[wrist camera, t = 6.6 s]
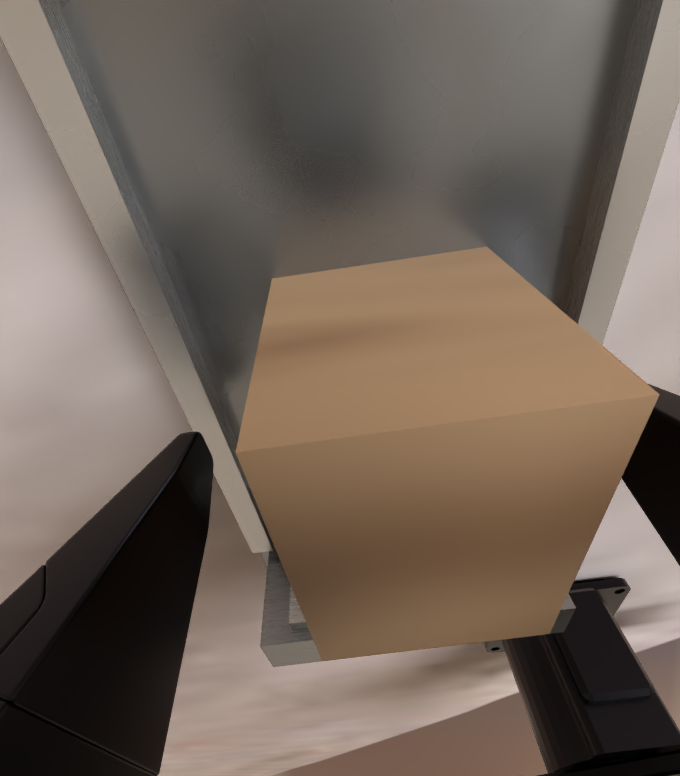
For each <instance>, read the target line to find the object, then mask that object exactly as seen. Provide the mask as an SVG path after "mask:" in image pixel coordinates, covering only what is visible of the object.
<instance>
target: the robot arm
mask: <svg viewBox="0 0 680 776" xmlns="http://www.w3.org/2000/svg"><path fill="white" fill-rule="evenodd" d="M648 385H649V386H650V387H651V388H653V389H654V390H655V391H656V392H657V393H658V394H660V395H659V397H658V399H657V402H656V404H655V406H654V408H653V410H652V412H651V415H650V417H649V419H648V421H647V423H646V425H645V428H644V430H643V432H642V434H641V436H640V438H639V441H638V443H637V445H636V447H635V449H634V451H633V454H632V456H631V458H630V460H629V462H628V465H627V467H626V469H625V471H624V473H623V475H622V479H623V481H624V482H625V484H626V486H627V487H628V489H629V490H630V492H631V493H632V495H633V496H634V498H635V499H636V501H637V502H638V504H639V505H640V507H641V508H642V510H643V511H644V513H645V514H646V516H647V517H648V519H649V520H650V522H651V523H652V525H653V526H654V528H655V529H656V531H657V532H658V534H659V535H660V537H661V538H662V540H663V541H664V543H665V544H666V546H667V547H668V549H669V550H670V552H671V553H672V555H673V556H674V558H675V559H676V561H677V562H678V564H679V565H680V396H679V395H676V394H673V393H671V392H668V391H666V390H663V389H660V388H658V387H655V386H652V385H650V384H648ZM213 468H214V462H213V457H212V455H211V453H210V450H209V448H208V446H207V444H206V442H205V440H204V438H203V436H202V434H201V433H200V432H197V431H195V432H188V433H182V434H180V435H179V436H177V437H176V438H175V439H174V440H173V441H172V442H171V443H170V444H169V445H168V446H167V447H166V448H165V449H164V450H163V451H162V452H161V453H160V454H158V455H157V456H156V457H155V458H154V459H153V460H152V461H151V462H150V463H149V464H148V465H147V466H146V467H145V468H144V469H143V470H142V471H141V472H140V473H139V474H138V475H136V476H135V477H134V478H133V479H132V480H131V481H130V482H129V483H128V484H127V485H126V486H125V487H124V488H123V489H122V490H121V491H120V492H119V493H118V494H117V495H116V496H114V497H113V498H112V499H111V500H110V501H109V502H108V503H107V504H106V505H105V506H104V507H103V508H102V509H101V510H100V511H99V512H98V513H97V514H96V515H95V516H94V517H92V518H91V519H90V520H89V521H88V522H87V523H86V524H85V525H84V526H83V527H82V528H81V529H80V530H79V531H78V532H77V533H76V534H75V535H74V536H73V537H71V538H70V539H69V540H68V541H67V542H66V543H65V544H64V545H63V546H62V547H61V548H60V549H59V550H58V551H57V552H56V553H55V554H54V555H53V556H52V557H50V558H49V559H48V560H47V562H46V565H42V566H41V567H40V568H39V569H38V570H37V571H36V572H35V573H34V574H33V575H32V576H30V577H29V578H28V579H27V580H26V581H25V582H24V583H23V584H22V585H21V586H20V587H19V588H18V589H17V590H16V591H14V592H13V593H12V594H11V595H10V596H9V597H8V598H7V599H6V600H5V601H4V602H3V603H1V604H0V776H157V775H158V774H159V772H160V767H161V762H162V757H163V752H164V747H165V742H166V737H167V732H168V727H169V722H170V717H171V712H172V707H173V702H174V697H175V693H176V688H177V683H178V678H179V673H180V668H181V663H182V658H183V653H184V648H185V643H186V638H187V633H188V628H189V623H190V618H191V613H192V608H193V603H194V598H195V593H196V588H197V583H198V578H199V573H200V568H201V563H202V558H203V553H204V548H205V543H206V538H207V533H208V526H209V517H210V505H211V493H212V480H213ZM630 589H631V588H630V587H629V585H628V584H627V582H626V581H625V579H623V578H616V579H608V580H600V581H592V582H584V583H576V584H572V586H571V588H570V591H569V595H570V597H571V599H572V601H573V603H574V605H575V607H576V609H575V611H574V613H573V615H572V617H571V619H570V621H569V623H568V625H567V627H566V629H565V631H564V632H560V633H551V634H545V635H536V636H528V637H520V638H511V639H503V640H495V641H486V642H484V643H485V647H486V650H487V651H488V652H501V651H505V652H506V655H507V658H508V661H509V664H510V666H511V669H512V672H513V675H514V678H515V681H516V684H517V686H518V689H519V692H520V695H521V698H522V701H523V704H524V706H525V709H526V712H527V715H528V717H529V721H530V723H531V726H532V729H533V732H534V735H535V738H536V740H537V743H538V746H539V749H540V752H541V755H542V758H543V761H544V763H545V766H546V769H547V772H548V774H544V775H538V776H680V730H679V729H678V727H677V725H676V723H675V722H674V720H673V718H672V716H671V715H670V713H669V712H668V710H667V708H666V706H665V704H664V703H663V701H662V699H661V698H660V696H659V694H658V692H657V691H656V689H655V687H654V686H653V684H652V682H651V680H650V679H649V677H648V675H647V674H646V672H645V670H644V668H643V667H642V665H641V663H640V661H639V660H638V658H637V656H636V655H635V653H634V651H633V649H632V648H631V646H630V644H629V643H628V641H627V639H626V637H625V636H624V634H623V632H622V630H621V629H620V627H619V625H618V624H617V622H616V620H615V618H614V617H613V616H614V614H615V613H616V611H617V610H618V608H619V606H620V605H621V603H622V602H623V600H624V599H625V597H626V596H627V594H628V593H629V591H630Z"/></svg>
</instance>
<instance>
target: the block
mask: <svg viewBox="0 0 680 776" xmlns="http://www.w3.org/2000/svg"><path fill="white" fill-rule="evenodd" d="M659 395H660V394H658V393H657V392H656V391H655V390H654V389H653V388H651V387H650V386H649V385H648V384H647V383H646V382H644V381H643V380H642V379H641V378H640V377H639V376H637V375H636V374H635V373H634V372H633V371H632V370H630V369H629V368H628V367H627V366H626V365H625V364H623V363H622V362H621V361H620V360H619V359H618V358H616V357H615V356H614V355H613V354H612V353H611V352H609V351H608V350H607V349H606V348H605V347H604V346H602V345H601V344H600V343H599V342H598V341H597V340H595V339H594V338H593V337H592V336H591V335H590V334H588V333H587V332H586V331H585V330H584V329H583V328H581V327H580V326H579V325H578V324H577V323H576V322H574V321H573V320H572V319H571V318H570V317H569V316H567V315H566V314H565V313H564V312H563V311H562V310H560V309H559V308H558V307H557V306H556V305H555V304H553V303H552V302H551V301H550V300H549V299H548V298H546V297H545V296H544V295H543V294H542V293H541V292H539V291H538V290H537V289H536V288H535V287H534V286H532V285H531V284H530V283H529V282H528V281H527V280H525V279H524V278H523V277H522V276H521V275H520V274H518V273H517V272H516V271H515V270H514V269H513V268H511V267H510V266H509V265H508V264H507V263H506V262H504V261H503V260H502V259H501V258H500V257H499V256H497V255H496V254H495V253H494V252H493V251H492V250H490V249H489V248H488V247H481V248H474V249H468V250H461V251H454V252H448V253H441V254H434V255H427V256H421V257H414V258H407V259H401V260H394V261H387V262H380V263H374V264H367V265H360V266H353V267H347V268H340V269H333V270H327V271H320V272H313V273H306V274H300V275H293V276H286V277H280V278H273V279H272V281H271V286H270V290H269V295H268V300H267V305H266V309H265V314H264V319H263V324H262V328H261V333H260V338H259V343H258V348H257V352H256V357H255V362H254V367H253V371H252V376H251V381H250V386H249V390H248V395H247V400H246V405H245V410H244V414H243V419H242V424H241V429H240V433H239V438H238V443H237V448H236V455H237V457H238V460H239V462H240V464H241V467H242V469H243V472H244V474H245V476H246V479H247V481H248V484H249V486H250V489H251V491H252V493H253V496H254V498H255V501H256V503H257V505H258V508H259V510H260V513H261V515H262V517H263V520H264V522H265V525H266V527H267V529H268V532H269V534H270V537H271V539H272V542H273V544H274V546H275V549H276V551H277V554H278V556H279V558H280V561H281V563H282V566H283V568H284V570H285V573H286V575H287V578H288V580H289V582H290V585H291V587H292V590H293V592H294V595H295V597H296V599H297V602H298V604H299V607H300V609H301V611H302V614H303V616H304V619H305V621H306V623H307V626H308V628H309V631H310V633H311V636H312V638H313V640H314V643H315V645H316V648H317V650H318V652H319V655H320V657H321V660H322V661H328V660H336V659H345V658H353V657H361V656H370V655H378V654H386V653H395V652H403V651H411V650H420V649H428V648H436V647H445V646H453V645H461V644H470V643H478V642H486V641H495V640H503V639H511V638H520V637H528V636H536V635H545V634H550V632H551V630H552V627H553V625H554V623H555V621H556V619H557V617H558V614H559V612H560V610H561V608H562V606H563V604H564V601H565V599H566V597H567V595H568V593H569V591H570V588H571V586H572V584H573V582H574V580H575V577H576V575H577V573H578V571H579V569H580V567H581V564H582V562H583V560H584V558H585V556H586V554H587V551H588V549H589V547H590V545H591V543H592V541H593V538H594V536H595V534H596V532H597V530H598V528H599V525H600V523H601V521H602V519H603V517H604V514H605V512H606V510H607V508H608V506H609V504H610V501H611V499H612V497H613V495H614V493H615V491H616V488H617V486H618V484H619V482H620V480H621V478H622V475H623V473H624V471H625V469H626V467H627V465H628V462H629V460H630V458H631V456H632V454H633V451H634V449H635V447H636V445H637V443H638V441H639V438H640V436H641V434H642V432H643V430H644V428H645V425H646V423H647V421H648V419H649V417H650V415H651V412H652V410H653V408H654V406H655V404H656V402H657V399H658V397H659Z"/></svg>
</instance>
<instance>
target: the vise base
mask: <svg viewBox="0 0 680 776" xmlns="http://www.w3.org/2000/svg"><path fill="white" fill-rule="evenodd" d="M0 37H1V39H2V41H3V43H4V45H5V47H6V49H7V51H8V53H9V55H10V57H11V59H12V61H13V63H14V65H15V67H16V70H17V72H18V74H19V76H20V78H21V80H22V82H23V84H24V86H25V88H26V90H27V92H28V94H29V96H30V98H31V100H32V102H33V104H34V106H35V109H36V111H37V113H38V115H39V117H40V119H41V121H42V123H43V125H44V127H45V129H46V131H47V133H48V135H49V137H50V139H51V141H52V143H53V145H54V147H55V150H56V152H57V154H58V156H59V158H60V160H61V162H62V164H63V166H64V168H65V170H66V172H67V174H68V176H69V178H70V180H71V182H72V184H73V186H74V189H75V191H76V193H77V195H78V197H79V199H80V201H81V203H82V205H83V207H84V209H85V211H86V213H87V215H88V217H89V219H90V221H91V223H92V225H93V227H94V230H95V232H96V234H97V236H98V238H99V240H100V242H101V244H102V246H103V248H104V250H105V252H106V254H107V256H108V258H109V260H110V262H111V264H112V266H113V269H114V271H115V273H116V275H117V277H118V279H119V281H120V283H121V285H122V287H123V289H124V291H125V293H126V295H127V297H128V299H129V301H130V303H131V305H132V308H133V310H134V312H135V314H136V316H137V318H138V320H139V322H140V324H141V326H142V328H143V330H144V332H145V334H146V336H147V338H148V340H149V342H150V344H151V346H152V349H153V351H154V353H155V355H156V357H157V359H158V361H159V363H160V365H161V367H162V369H163V371H164V373H165V375H166V377H167V379H168V381H169V383H170V385H171V388H172V390H173V392H174V394H175V396H176V398H177V400H178V402H179V404H180V406H181V408H182V410H183V412H184V414H185V416H186V418H187V420H188V422H189V424H190V426H191V429H192V431H193V432H195V431H197V432H200V433H201V434H202V436H203V438H204V440H205V442H206V444H207V446H208V448H209V450H210V453H211V455H212V457H213V462H214V468H213V474H214V476H215V478H216V480H217V482H218V484H219V486H220V488H221V490H222V492H223V494H224V496H225V498H226V500H227V502H228V504H229V506H230V509H231V511H232V513H233V515H234V517H235V519H236V521H237V523H238V525H239V527H240V529H241V531H242V533H243V535H244V537H245V539H246V541H247V543H248V545H249V548H250V550H251V552H252V553H259V552H260V554H261V556H262V558H263V560H264V562H265V564H266V567H267V578H266V589H265V600H264V611H263V622H262V633H261V644H260V647H261V649H262V650H263V652H264V653H265V655H266V656H267V658H268V660H269V661H270V663H271V664H272V666H273V667H277V666H285V665H294V664H302V663H310V662H319V661H322V660H321V657H320V655H319V652H318V650H317V648H316V645H315V643H314V640H313V638H312V636H311V633H310V631H309V628H308V626H307V623H306V621H305V619H304V616H303V614H302V611H301V609H300V607H299V604H298V602H297V599H296V597H295V595H294V592H293V590H292V587H291V585H290V582H289V580H288V578H287V575H286V573H285V570H284V568H283V566H282V563H281V561H280V558H279V556H278V554H277V551H276V549H275V546H274V544H273V542H272V539H271V537H270V534H269V532H268V529H267V527H266V525H265V522H264V520H263V517H262V515H261V513H260V510H259V508H258V505H257V503H256V501H255V498H254V496H253V493H252V491H251V489H250V486H249V484H248V481H247V479H246V476H245V474H244V472H243V469H242V467H241V464H240V462H239V460H238V457H237V455H236V448H237V443H238V438H239V433H240V429H241V424H242V419H243V414H244V410H245V405H246V400H247V395H248V390H249V386H250V381H251V376H252V371H253V367H254V362H255V357H256V352H257V348H258V343H259V338H260V333H261V328H262V324H263V319H264V314H265V309H266V305H267V300H268V295H269V290H270V286H271V281H272V279H273V278H280V277H286V276H293V275H300V274H306V273H313V272H320V271H327V270H333V269H340V268H347V267H353V266H360V265H367V264H374V263H380V262H387V261H394V260H401V259H407V258H414V257H421V256H427V255H434V254H441V253H448V252H454V251H461V250H468V249H474V248H481V247H488V248H489V249H490V250H492V251H493V252H494V253H495V254H496V255H497V256H499V257H500V258H501V259H502V260H503V261H504V262H506V263H507V264H508V265H509V266H510V267H511V268H513V269H514V270H515V271H516V272H517V273H518V274H520V275H521V276H522V277H523V278H524V279H525V280H527V281H528V282H529V283H530V284H531V285H532V286H534V287H535V288H536V289H537V290H538V291H539V292H541V293H542V294H543V295H544V296H545V297H546V298H548V299H549V300H550V301H551V302H552V303H553V304H555V305H556V306H557V307H558V308H559V309H560V310H562V311H563V312H564V313H565V314H566V315H567V316H569V317H570V318H571V319H572V320H573V321H574V322H576V323H577V324H578V325H579V326H580V327H581V328H583V329H584V330H585V331H586V332H587V333H588V334H590V335H591V336H592V337H593V338H594V339H595V340H597V341H598V342H599V343H600V344H601V345H602V344H603V340H604V337H605V334H606V331H607V328H608V325H609V321H610V318H611V315H612V312H613V309H614V306H615V303H616V299H617V296H618V293H619V290H620V287H621V284H622V280H623V277H624V274H625V271H626V268H627V265H628V261H629V258H630V255H631V252H632V249H633V246H634V242H635V239H636V236H637V233H638V230H639V227H640V223H641V220H642V217H643V214H644V211H645V208H646V204H647V201H648V198H649V195H650V192H651V189H652V185H653V182H654V179H655V176H656V173H657V170H658V166H659V163H660V160H661V157H662V154H663V151H664V148H665V144H666V141H667V138H668V135H669V132H670V129H671V125H672V122H673V119H674V116H675V113H676V110H677V106H678V103H679V100H680V0H0ZM575 609H576V607H575V605H574V603H573V601H572V599H571V597H570V595H569V593H568V595H567V597H566V599H565V601H564V604H563V606H562V608H561V610H560V612H559V614H558V617H557V619H556V621H555V623H554V625H553V627H552V630H551V632H550V634H551V633H560V632H564V631H565V629H566V627H567V625H568V623H569V621H570V619H571V617H572V615H573V613H574V611H575Z"/></svg>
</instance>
